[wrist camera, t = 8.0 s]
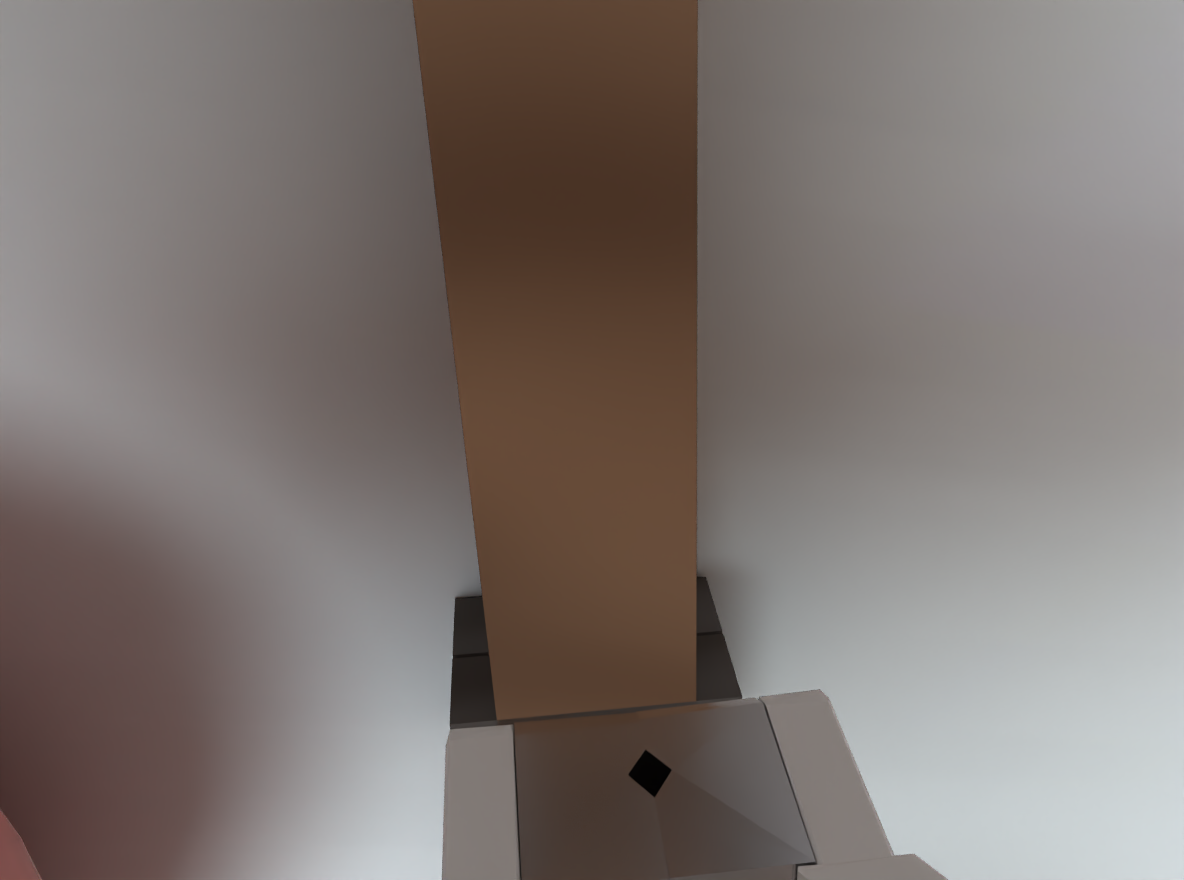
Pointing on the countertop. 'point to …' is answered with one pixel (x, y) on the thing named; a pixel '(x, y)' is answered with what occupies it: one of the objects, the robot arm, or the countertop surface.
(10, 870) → the cell model
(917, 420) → the countertop surface
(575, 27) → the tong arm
